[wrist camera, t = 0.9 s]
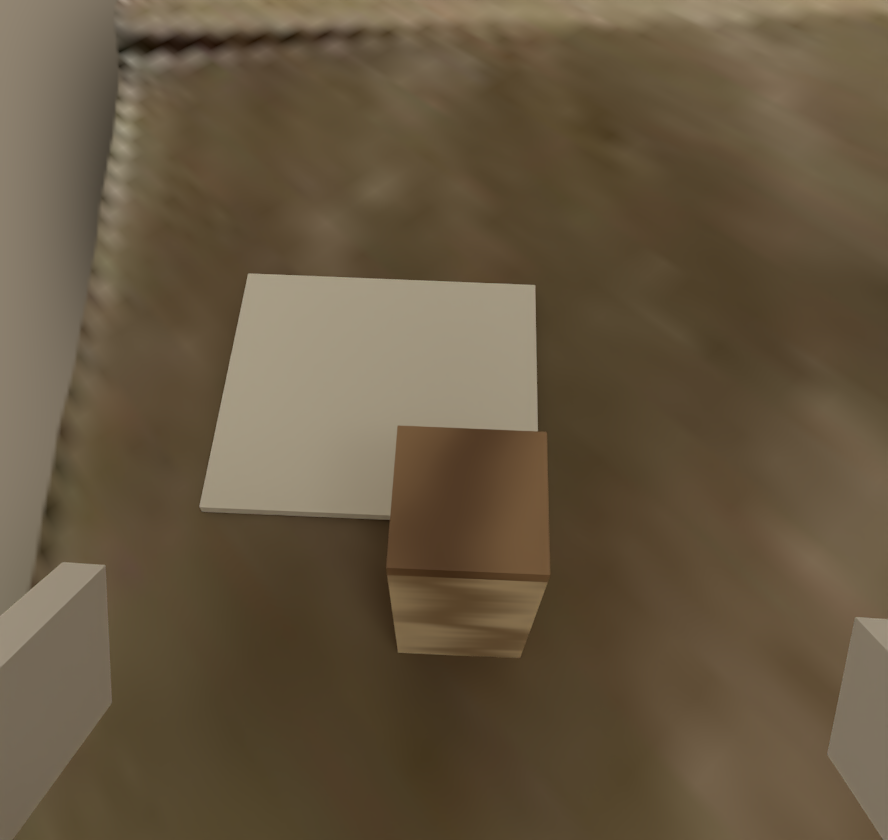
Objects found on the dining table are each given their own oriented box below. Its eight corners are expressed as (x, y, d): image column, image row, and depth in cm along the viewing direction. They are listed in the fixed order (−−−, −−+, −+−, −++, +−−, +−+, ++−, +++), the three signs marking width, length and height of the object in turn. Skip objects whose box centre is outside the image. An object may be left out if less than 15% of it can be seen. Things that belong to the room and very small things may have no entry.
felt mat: (534, 291, 52) (535, 285, 51) (538, 526, 44) (539, 521, 43) (250, 279, 52) (248, 273, 52) (201, 511, 44) (199, 507, 43)
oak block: (519, 543, 43) (546, 431, 33) (520, 658, 40) (550, 574, 30) (405, 538, 43) (397, 425, 33) (398, 652, 40) (385, 567, 30)
